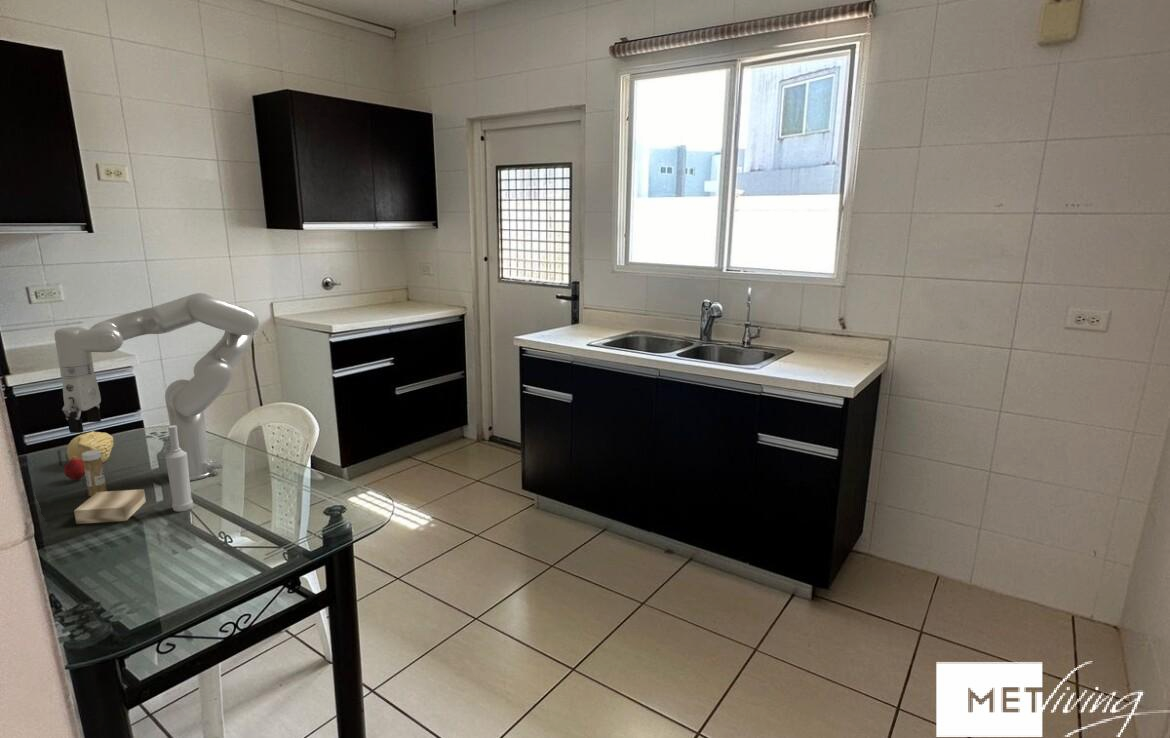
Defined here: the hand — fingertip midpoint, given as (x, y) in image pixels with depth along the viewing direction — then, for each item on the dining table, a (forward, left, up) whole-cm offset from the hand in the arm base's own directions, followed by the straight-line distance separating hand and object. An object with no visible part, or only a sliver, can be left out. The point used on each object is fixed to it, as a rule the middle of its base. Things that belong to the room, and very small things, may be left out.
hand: (85, 426), depth 182 cm
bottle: (-28, +14, -22) cm, 38 cm away
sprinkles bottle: (0, 0, -22) cm, 22 cm away
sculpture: (+14, -27, -22) cm, 37 cm away
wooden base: (-10, +14, -21) cm, 27 cm away
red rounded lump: (+11, -12, -22) cm, 27 cm away
